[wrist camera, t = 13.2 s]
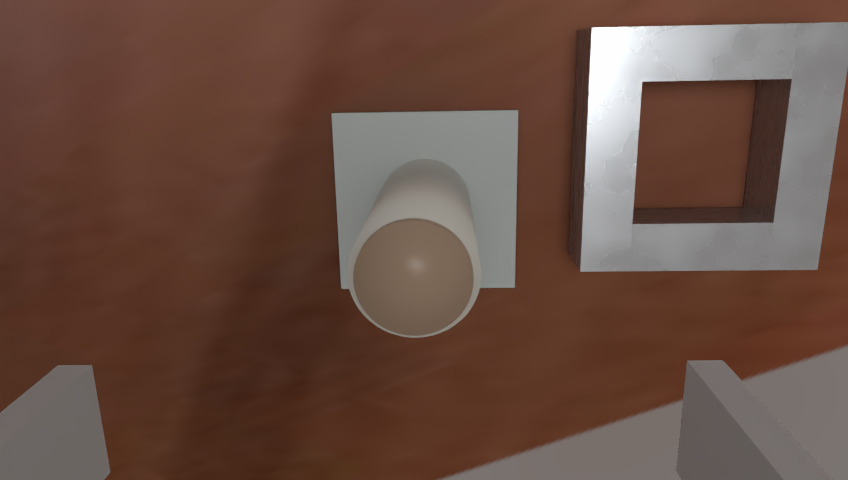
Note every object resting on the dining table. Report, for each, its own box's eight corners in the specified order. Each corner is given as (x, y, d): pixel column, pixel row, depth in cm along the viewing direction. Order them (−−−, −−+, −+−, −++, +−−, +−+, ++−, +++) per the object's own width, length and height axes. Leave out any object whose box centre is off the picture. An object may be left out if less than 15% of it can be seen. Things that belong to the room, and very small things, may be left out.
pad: (341, 287, 38) (341, 288, 38) (332, 112, 36) (331, 113, 35) (514, 285, 38) (514, 287, 38) (517, 109, 35) (518, 110, 35)
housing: (567, 252, 37) (580, 271, 34) (577, 30, 34) (591, 27, 31) (783, 250, 37) (817, 269, 33) (813, 25, 34) (854, 22, 30)
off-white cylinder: (381, 247, 37) (348, 343, 25) (378, 159, 36) (341, 213, 23) (470, 246, 37) (481, 342, 24) (470, 158, 36) (482, 212, 23)
